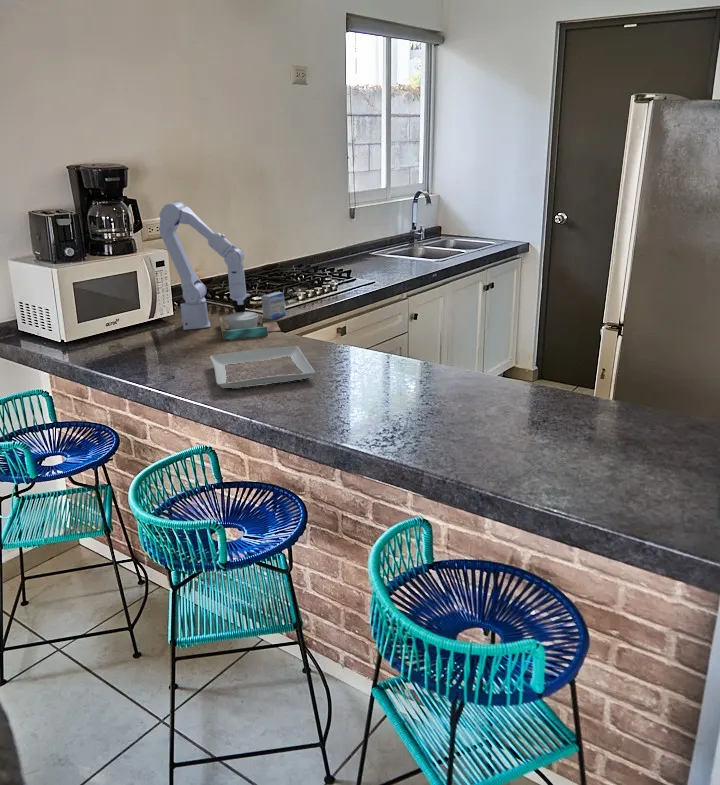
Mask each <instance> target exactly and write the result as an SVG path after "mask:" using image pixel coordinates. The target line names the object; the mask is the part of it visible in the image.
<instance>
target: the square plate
mask: <svg viewBox="0 0 720 785" xmlns="http://www.w3.org/2000/svg"><path fill="white" fill-rule="evenodd" d="M286 356H288V357H289V356H290V357H291V359H292V361H293V362H294V363H295V364H296V366H297V367H298V368H299V369H300V370H301V371H302V372H303V373H301V374H288V375H276V376H267V377H260V378H253V379H246V380H241V381H235V382H228V383H226V379H227V378H226V377H227V376H226V370H225V365H228V364H237V363H245V362H253V361H264V360H271V359H277V358H281V357H286ZM209 360H210V362H211V364H212V366H213V370H214V376H215V381H216V384H217V386H219V387H220V388H221V389H224V388H231V387H240V386H247V385H256V384H266V383H274V382H281V381H290V380H298V379H306V378H309V379H311V378H312V377H313V376H315V374H316V371H315V370H314V368H313V366H312V364H310V363H309V361H308V360H307V358H306V357H305V355H304V353H303V351H302V349H301V348H300V347H299V346H297V345H291V346H282V347H279V346H278V347H267V348H257V349H251V350H241V351H235V352H234V351H233V352H228V353H227V352H226V353H220V354H212V355H210V356H209ZM306 380H307V379H306Z"/></svg>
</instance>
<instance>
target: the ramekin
mask: <svg viewBox="0 0 720 785" xmlns="http://www.w3.org/2000/svg"><path fill="white" fill-rule="evenodd" d="M258 314H259V313H256V312H253V311H245V312H238V313H236V312H233V313H230V314H227V316H226V317H225V319H226V322H227V325H228V330H236V329H246V328H255V327H258V323H259V320H258Z"/></svg>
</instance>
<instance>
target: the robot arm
mask: <svg viewBox="0 0 720 785" xmlns="http://www.w3.org/2000/svg"><path fill="white" fill-rule="evenodd" d="M160 210H161V211H159V227H158V228H159V234H160V236H161V238H162V241H163V243H164V246H165V247H166V250H167V251H168V254H169V256H170V258H171V261H172V262H173V265H174V266H175V270H176V271H177V274H178V275H179V278H180V287H181V289H182V298H183V300H184V301H185V302H184V303H180V314H181V324H182V327H183V331H186V330H198V329H205V328H206V329H207V328H211V322H210V320H209V313H208V306H207V304H208V303H207V299H206V298H205V296H206V294H207V286H206V284H204V283H203V282H202V281H201V279H200V277H199V276H198V275H197V274H196V273H195V271H194V269H193V267H192V264H191V262H190V260H189V258H188V255H187V253H186V251H185V249H184V247H183V244H182V242H181V240H180V238H179V235H178V234H177V229H178V228H179V225H180V224H181V225H189V226H190V227H191V228H192V229H194V230H195V231H196V232H198V233H199V234H200V235H201V236H203V237H204V238H205V239H206V240H207V244H208V246H209V247H210V248H211V249H212V250H214V252H216V253H217V254H218V255H219V256H220V257H222V259H223V261H224V263H225V264H226V266H227V276H228V285H229V286H228V287H229V294H230V295H229V298H230V299H231V300H230V304H231V305H232V307H233V309H234V313H238V312H246V308H247V305H248V300H247V298H248V297H250V296H251V294H250V293H247V288H246V287H247V286H246V276H245V269H244V262H243V261H244V259H245V254H244V251H243V250H242V248H241V247H238V246H236V244H233V243H231V242H230V240H228V239H227V238H226V235H225V234H224V233H221V232H214V231H213V230H212V229H211V228H210V227H209V226H208V225H207V224H206V223H205V222H204V221H203V220H202V219H201V218H200V217H199V216H198V215H196V213H195V212H194V211H193V210H192V209H191V208H190V207H189V206H187V205H185V203H183V201H179V200H175V201H173V202H171V203H166V204H165V205H164V206H163V207H162V208H161V209H160Z"/></svg>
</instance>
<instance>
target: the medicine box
mask: <svg viewBox="0 0 720 785" xmlns="http://www.w3.org/2000/svg"><path fill="white" fill-rule="evenodd" d="M260 299H261V309H262V310H261V311H262V319H266V320H274V319H277V318H281V317H283V316H285V315H286V305H285V294H284V292H282V291H280V292H279V291H274V292H271V293H267V294H264V295H261V296H260Z"/></svg>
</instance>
